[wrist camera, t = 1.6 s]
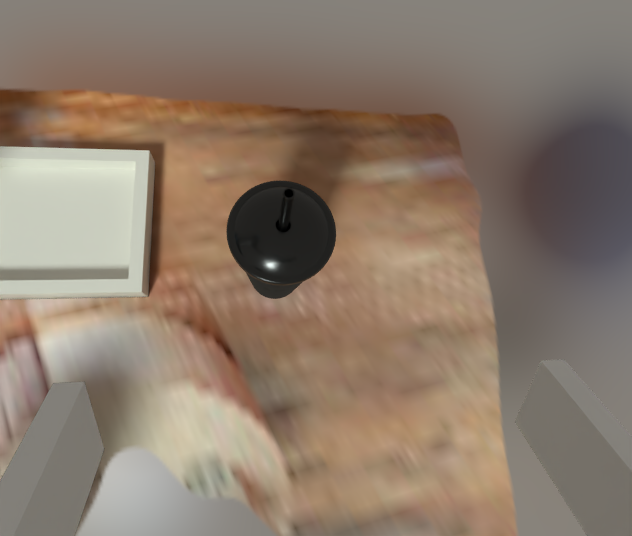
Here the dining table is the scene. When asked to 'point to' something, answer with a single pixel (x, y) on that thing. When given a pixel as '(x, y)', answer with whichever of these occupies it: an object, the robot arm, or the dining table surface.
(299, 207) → the drinking cup
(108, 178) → the tray
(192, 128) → the dining table surface
